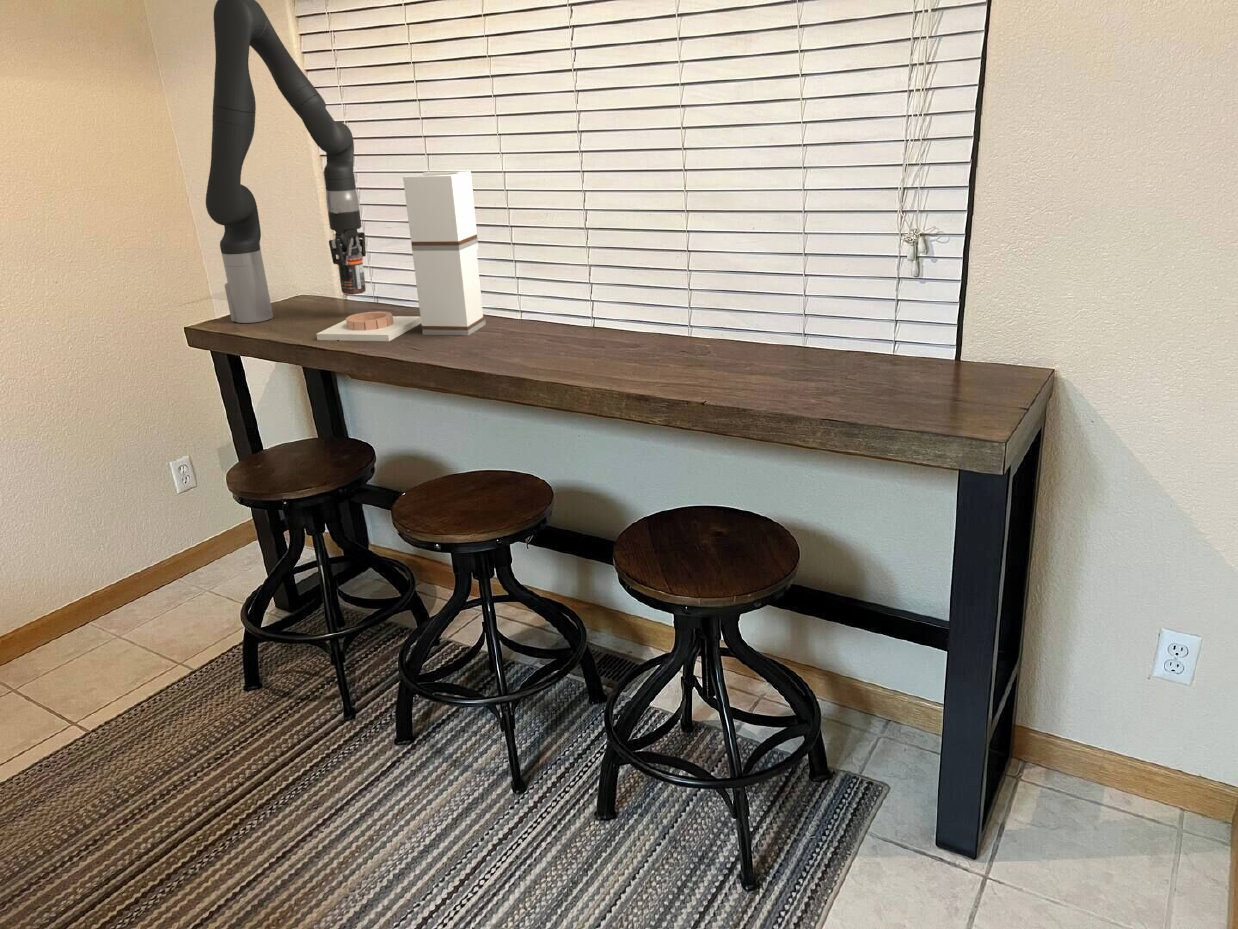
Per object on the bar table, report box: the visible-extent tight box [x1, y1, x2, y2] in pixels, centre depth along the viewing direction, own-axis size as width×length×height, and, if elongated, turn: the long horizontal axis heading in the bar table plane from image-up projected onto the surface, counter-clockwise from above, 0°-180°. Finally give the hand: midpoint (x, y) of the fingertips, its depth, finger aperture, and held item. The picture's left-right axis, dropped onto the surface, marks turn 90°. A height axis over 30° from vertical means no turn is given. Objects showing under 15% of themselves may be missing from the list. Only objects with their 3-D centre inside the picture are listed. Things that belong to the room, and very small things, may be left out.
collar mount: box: [316, 311, 422, 342], centre depth 217 cm, size 18×18×4 cm
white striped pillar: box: [402, 170, 486, 336], centre depth 209 cm, size 11×11×35 cm
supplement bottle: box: [338, 246, 367, 295], centre depth 229 cm, size 6×6×11 cm
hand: (352, 277), depth 230 cm, fingers closed on supplement bottle, 6 cm apart
